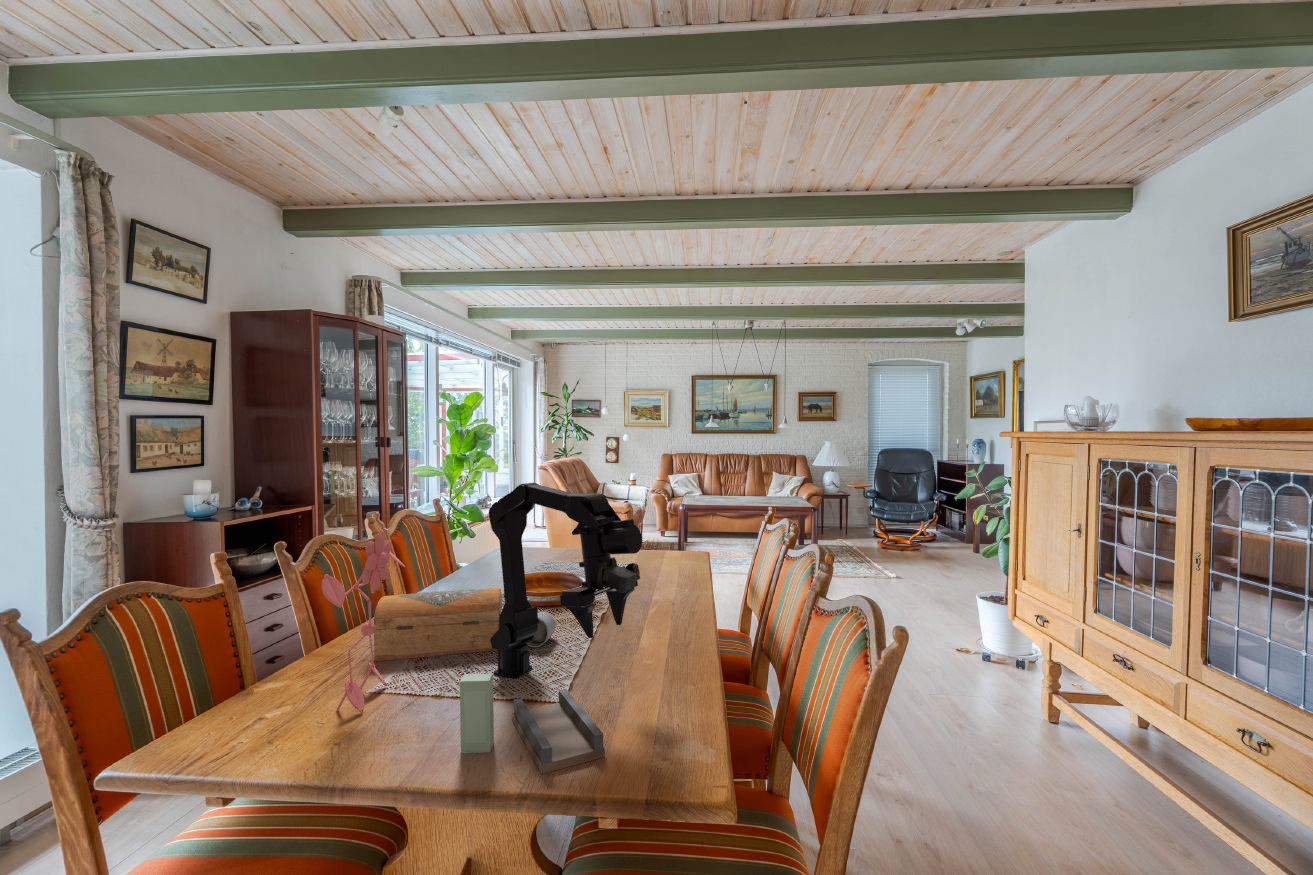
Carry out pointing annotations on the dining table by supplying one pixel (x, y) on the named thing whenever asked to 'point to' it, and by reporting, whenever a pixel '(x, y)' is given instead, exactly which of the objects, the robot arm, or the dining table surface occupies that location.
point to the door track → (558, 733)
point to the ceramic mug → (543, 629)
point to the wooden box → (436, 623)
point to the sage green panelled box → (476, 713)
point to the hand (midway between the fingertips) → (605, 631)
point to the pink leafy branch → (336, 595)
